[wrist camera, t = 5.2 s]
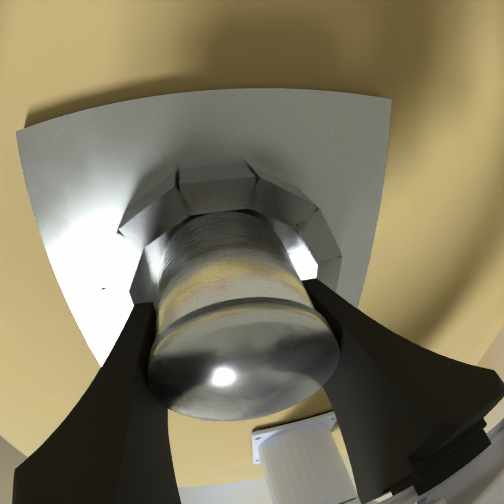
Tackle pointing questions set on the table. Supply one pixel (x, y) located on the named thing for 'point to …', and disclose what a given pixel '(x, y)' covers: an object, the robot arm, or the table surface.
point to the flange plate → (203, 187)
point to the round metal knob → (235, 324)
